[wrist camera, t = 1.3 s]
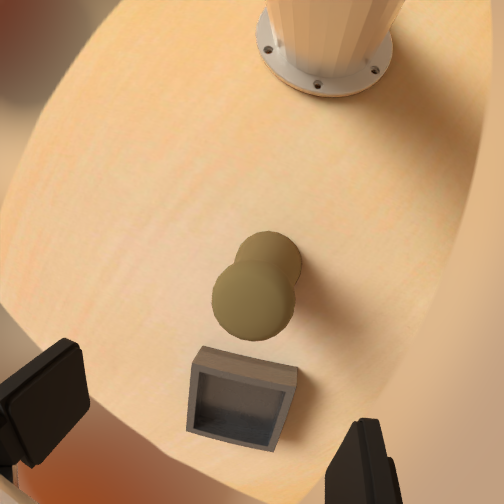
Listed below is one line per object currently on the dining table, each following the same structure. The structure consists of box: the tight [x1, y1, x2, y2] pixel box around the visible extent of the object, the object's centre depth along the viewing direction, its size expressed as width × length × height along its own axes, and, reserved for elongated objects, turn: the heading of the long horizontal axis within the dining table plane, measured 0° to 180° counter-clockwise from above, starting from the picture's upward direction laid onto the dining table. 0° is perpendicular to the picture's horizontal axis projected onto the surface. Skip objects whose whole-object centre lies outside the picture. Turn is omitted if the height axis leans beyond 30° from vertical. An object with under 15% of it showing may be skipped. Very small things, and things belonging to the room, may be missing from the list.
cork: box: [212, 231, 302, 341], centre depth 23 cm, size 6×6×11 cm
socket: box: [186, 346, 297, 452], centre depth 30 cm, size 10×10×4 cm
